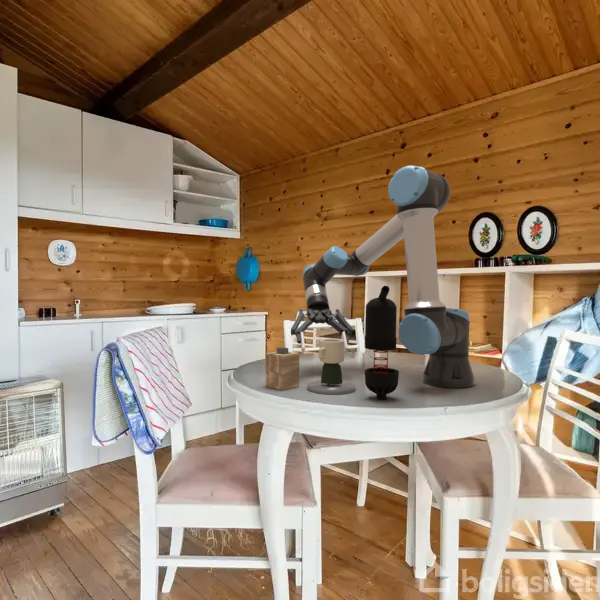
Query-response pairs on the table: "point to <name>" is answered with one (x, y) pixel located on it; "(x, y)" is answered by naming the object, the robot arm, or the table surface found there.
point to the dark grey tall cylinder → (282, 350)
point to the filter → (381, 343)
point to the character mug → (331, 360)
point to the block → (282, 370)
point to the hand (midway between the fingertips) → (324, 350)
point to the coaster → (331, 387)
